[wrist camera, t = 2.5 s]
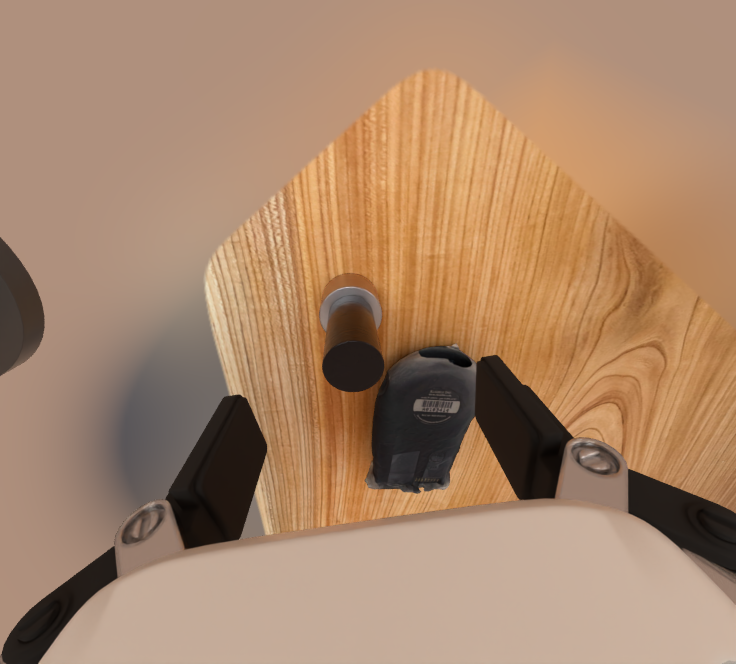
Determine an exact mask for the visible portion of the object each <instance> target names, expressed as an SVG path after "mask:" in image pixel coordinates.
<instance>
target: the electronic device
mask: <svg viewBox="0 0 736 664" xmlns="http://www.w3.org/2000/svg"><path fill="white" fill-rule="evenodd" d="M476 364H477V363H476V362H475V361H474V360H472V359H471V358H470V357H468V356H467V355H466V354H465V353H463V352H461V351H460V350H459V347H458V346H457V344H453V345H452V346H436V347H429V348H424V349H421V350H419V351H416V352H414V353H411V354H409V355H407V356H406V357H404V358H402V359H401V360H399V361H398V362H397V363H395V364H394V365H393V366H392V367H391V368H390V369H389V370H388V371H387V374H386V377H385V379H384V381H383V383H382V385H381V387H380V389H379V392H378V395H377V398H376V402H375V409H374V416H373V428H372V454H373V461H372V462H371V465H370V468H369V471H368V474H367V477H366V479H365V482H366V483H367V485H368V487H369V488H372V489H401V490H402V491H403V492H413V493H420V492H421V491H420V490H419V488H420V487H423V488H424V491H431V490H433V489H442V490H444V489H446V488H448V486H449V484H450V473H449V472H450V469H451V467H452V465H453V462H454V460H455V457H456V455H457V453H458V452H459V449H460V445H461V443H462V440H463V438H464V434H465V433H466V431H467V429H468V427H469V425H470V422H471V420H472V419H473V418H474V417H475V390H476Z"/></svg>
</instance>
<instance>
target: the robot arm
mask: <svg viewBox="0 0 736 664" xmlns="http://www.w3.org/2000/svg"><path fill="white" fill-rule="evenodd" d="M475 417H476V420H477V422H478V424H479V426H480V428H481V429H482V431H483V433H484V435H485V437H486V439H487V441H488V443H489V445H490V446H491V448H492V450H493V452H494V454H495V456H496V458H497V460H498V462H499V463H500V465H501V467H502V469H503V471H504V473H505V475H506V477H507V479H508V480H509V482H510V484H511V486H512V488H513V490H514V492H515V494H516V495H517V497H518V498H519V499H520V500H518V501H509V502H501V503H493V504H484V505H476V506H468V507H461V508H454V509H447V510H439V511H432V512H425V513H418V514H410V515H403V516H396V517H389V518H382V519H375V520H368V521H361V522H354V523H347V524H340V525H333V526H326V527H319V528H313V529H306V530H299V531H293V532H286V533H279V534H273V535H266V536H259V537H252V538H246V539H240V540H239V538H240V537H241V534H242V531H243V527H244V524H245V521H246V518H247V514H248V511H249V508H250V505H251V501H252V498H253V495H254V492H255V489H256V485H257V482H258V479H259V476H260V472H261V469H262V466H263V463H264V459H265V456H266V453H267V444H266V441H265V439H264V437H263V434H262V432H261V430H260V428H259V425H258V423H257V421H256V419H255V416H254V414H253V412H252V410H251V407H250V405H249V403H248V401H247V399H246V398H245V397H242V396H241V395H232V396H226V397H224V398H223V399H222V401H221V403H220V404H219V406H218V408H217V409H216V411H215V413H214V414H213V417H212V418H211V420H210V421H209V423H208V425H207V426H206V428H205V430H204V432H203V433H202V435H201V437H200V438H199V440H198V442H197V444H196V445H195V447H194V449H193V450H192V452H191V454H190V455H189V457H188V459H187V461H186V463H185V464H184V466H183V467H182V469H181V471H180V472H179V474H178V476H177V478H176V479H175V481H174V483H173V484H172V486H171V488H170V489H169V494H168V495H167V497H166V499H165V500H164V499H157V500H154V501H151V502H148V503H146V504H144V505H143V506H141V507H139V508H138V509H137V510H135V511H134V512H133V513H132V514H131V515H130V516H129V517H128V518H127V519H126V520H125V521H124V522H123V523H122V525H121V526H120V528H119V529H118V531H117V533H116V536H115V542H114V545H115V546H114V547H112V548H111V549H110V550H108V551H107V552H106V553H104V554H103V555H101V556H100V557H99V558H97V559H96V560H95V561H93V562H92V563H91V564H89V565H88V566H87V567H85V568H84V569H82V570H81V571H80V572H78V573H77V574H76V575H74V576H73V577H72V578H70V579H69V580H68V581H66V582H65V583H64V584H62V585H61V586H60V587H58V588H57V589H56V590H54V591H53V592H51V593H50V594H49V595H47V596H46V597H45V598H43V599H42V600H41V601H40V602H38V603H37V604H36V605H35V606H34V607H32V608H31V609H30V610H29V611H28V612H27V613H26V614H25V616H24V617H23V618H22V619H21V620H20V621H19V622H18V623H17V625H16V626H15V628H14V629H13V630H12V631H11V633H10V635H9V637H8V638H7V640H6V642H5V644H4V647H3V651H2V654H1V655H0V664H736V513H734V512H733V511H731V510H729V509H727V508H725V507H723V506H720V505H718V504H716V503H713V502H711V501H708V500H706V499H703V498H701V497H698V496H696V495H693V494H691V493H688V492H686V491H683V490H681V489H678V488H676V487H673V486H671V485H668V484H665V483H663V482H660V481H658V480H655V479H653V478H650V477H648V476H645V475H643V474H640V473H638V472H635V471H633V470H630V469H628V467H627V463H626V461H625V459H624V458H623V457H622V455H621V454H620V453H619V452H617V451H616V450H615V449H614V448H612V447H611V446H609V445H607V444H606V443H603V442H601V441H598V440H596V439H591V438H582V437H579V438H573V436H572V435H571V434H570V433H569V432H568V431H567V430H566V428H565V427H564V426H563V425H562V424H561V423H560V422H559V420H558V419H557V418H556V417H555V416H554V415H553V414H552V412H551V411H550V410H549V409H548V408H547V407H546V406H545V404H544V403H543V402H542V401H541V400H540V399H539V398H538V396H537V395H536V394H535V393H534V392H533V391H532V390H531V388H530V387H528V386H527V385H522V384H521V382H520V381H519V380H518V379H517V378H516V376H515V375H514V374H513V373H512V372H511V371H510V369H509V368H508V367H507V366H506V365H505V364H504V362H503V361H502V360H501V359H500V358H499V357H498V356H497V355H493V356H487V357H482V358H481V361H478V362H477V364H476V390H475Z"/></svg>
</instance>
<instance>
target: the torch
mask: <svg viewBox="0 0 736 664" xmlns="http://www.w3.org/2000/svg"><path fill="white" fill-rule="evenodd" d="M319 318H320V322H321V325H322V327H323V329H324V330H325V332H326V339H325V347H324V356H323V364H322V370H323V374H324V376H325V378H326V380H327V381H328V382H329V383H330V384H331V385H332V386H333V387H335V388H337V389H339V390H342V391H346V392H359V391H363V390H366V389H368V388H370V387H372V386H373V385H375V384H376V383H377V382H378V381H379V379H380V378H381V376H382V374H383V371H384V360H383V355H382V351H381V346H380V342H379V337H378V332H377V329H378V328H379V326H380V324H381V320H382V309H381V305H380V302H379V298H378V295H377V292H376V289H375V287H374V286H373V284H372V283H371V282H370V281H369V280H368V279H367V278H365V277H363V276H361V275H358V274H351V273H348V274H342V275H339V276H337V277H335V278H334V279H332V280H331V281H330V282H329V283H328V284H327V286H326V287H325V289H324V292H323V296H322V301H321V306H320V312H319Z"/></svg>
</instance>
